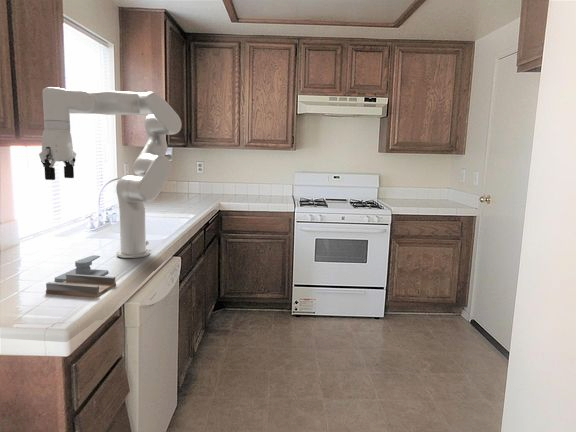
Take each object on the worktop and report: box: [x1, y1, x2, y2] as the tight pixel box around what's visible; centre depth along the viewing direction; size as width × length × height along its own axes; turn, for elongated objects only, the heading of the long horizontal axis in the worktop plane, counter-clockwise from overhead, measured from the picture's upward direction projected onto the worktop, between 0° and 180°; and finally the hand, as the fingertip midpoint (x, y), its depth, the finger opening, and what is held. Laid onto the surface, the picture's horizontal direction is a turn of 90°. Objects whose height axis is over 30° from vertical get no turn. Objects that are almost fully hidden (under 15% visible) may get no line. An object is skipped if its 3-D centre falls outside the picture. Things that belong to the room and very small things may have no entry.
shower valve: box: [54, 255, 109, 283], centre depth 145 cm, size 12×6×15 cm
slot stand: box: [45, 274, 117, 298], centre depth 132 cm, size 11×16×3 cm
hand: (60, 178), depth 144 cm, fingers open, 9 cm apart
